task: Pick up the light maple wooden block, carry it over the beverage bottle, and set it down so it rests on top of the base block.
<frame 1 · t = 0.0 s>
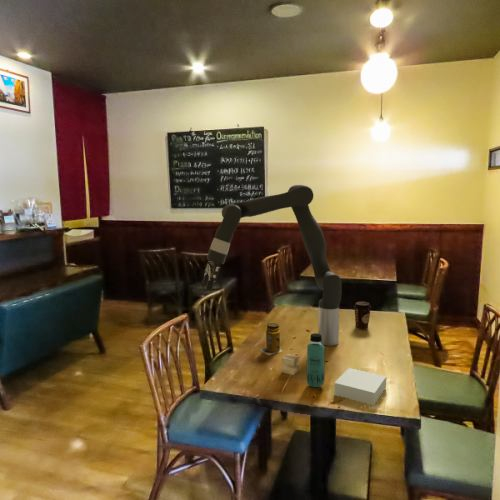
hand: (206, 287, 175), 31 cm above the table, tool tilted 20°, fingers open, 8 cm apart
beverage bottle: (315, 387, 154), on the table
base block: (360, 392, 150), on the table
maple block: (290, 371, 167), on the table
condiment: (271, 351, 188), on the table
coffee cup: (362, 328, 215), on the table
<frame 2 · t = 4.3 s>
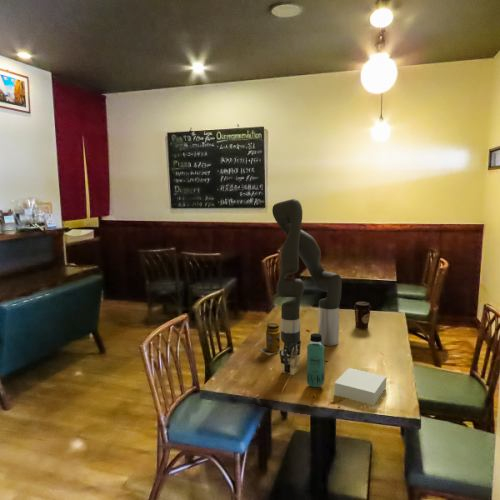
hand: (290, 369, 167), 1 cm above the table, tool pointing down, fingers closed on maple block, 5 cm apart
maple block: (290, 371, 167), on the table, touching gripper
everything else where it was.
when the fingers open (7 cm above the table, at t = 12.7 s): maple block drops 2 cm, resting on base block.
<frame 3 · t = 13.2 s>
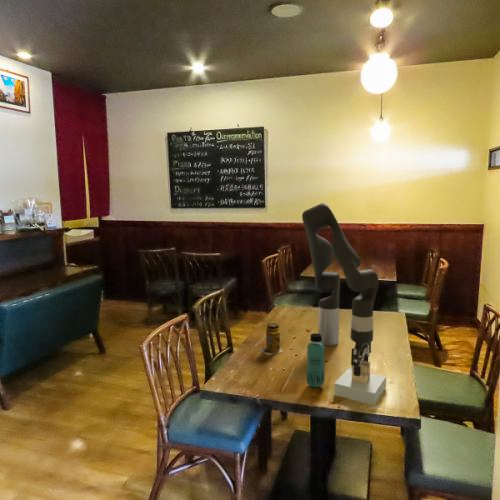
hand: (361, 370, 148), 8 cm above the table, tool pointing down, fingers open, 8 cm apart
base block: (360, 393, 150), on the table, touching maple block
maple block: (360, 379, 149), point 4 cm above the table, touching base block
everything else where it was.
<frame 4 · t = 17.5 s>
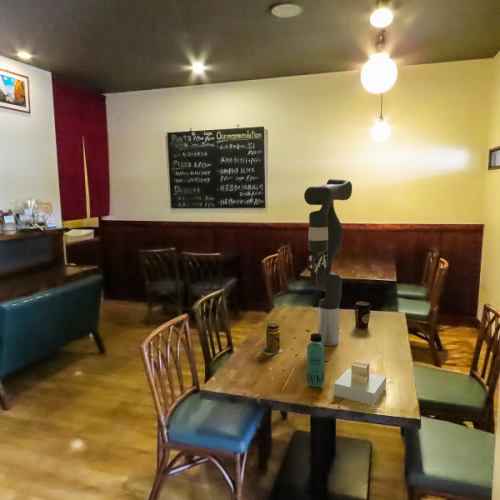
hand: (317, 279, 166), 36 cm above the table, tool pointing down, fingers open, 8 cm apart
nothing on the table moved.
at the end: maple block inside the target area on the base block (0.1 cm from its centre), point 5.0 cm above the base block's base; maple block tilted 0°; the gripper is holding nothing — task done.
